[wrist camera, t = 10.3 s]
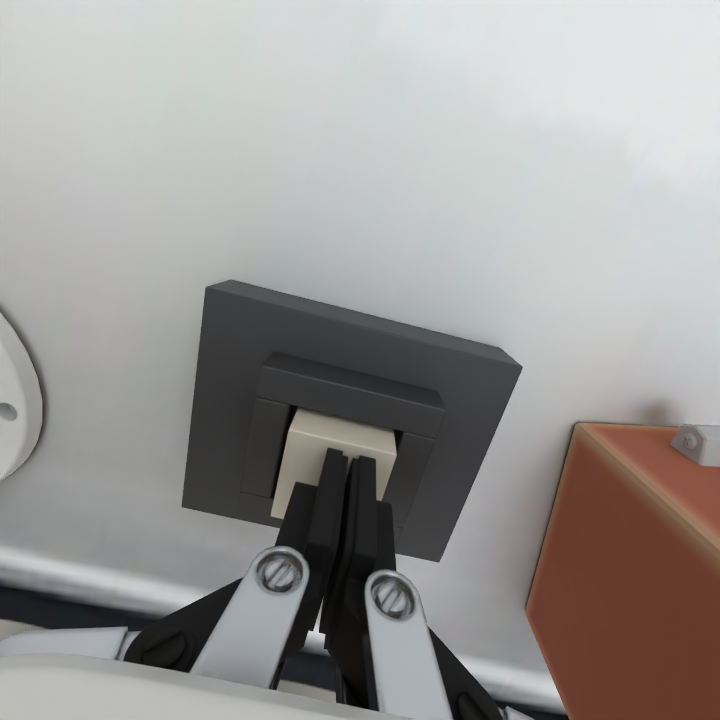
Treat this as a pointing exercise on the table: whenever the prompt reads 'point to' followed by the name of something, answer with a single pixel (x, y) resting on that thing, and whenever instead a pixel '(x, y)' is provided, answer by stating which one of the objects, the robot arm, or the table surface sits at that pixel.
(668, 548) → the control panel
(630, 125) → the table surface
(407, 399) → the light switch
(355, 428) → the key
